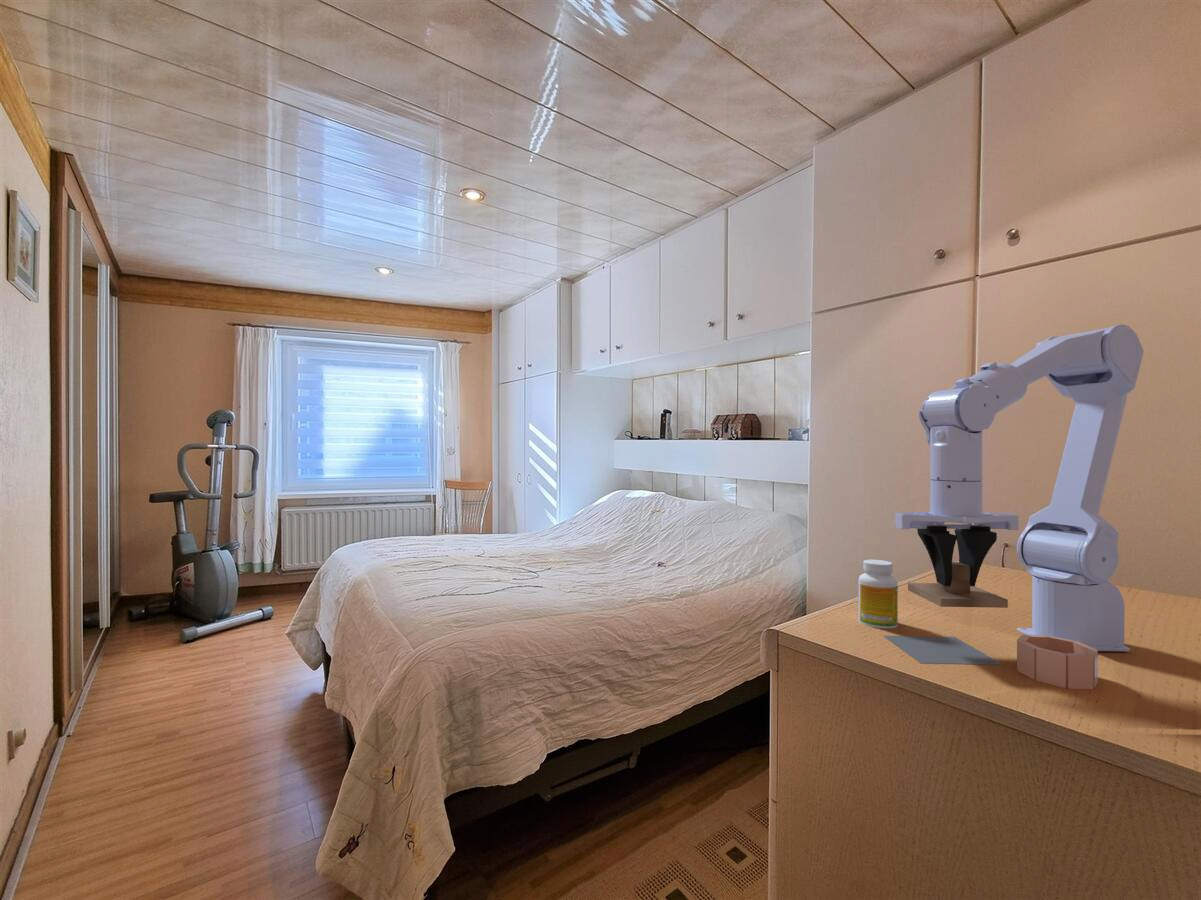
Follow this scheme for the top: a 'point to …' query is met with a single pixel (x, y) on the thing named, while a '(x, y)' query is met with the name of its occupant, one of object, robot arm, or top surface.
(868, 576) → the supplement bottle
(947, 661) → the mat
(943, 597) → the lid
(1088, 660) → the bowl
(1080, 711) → the top surface
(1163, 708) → the top surface
